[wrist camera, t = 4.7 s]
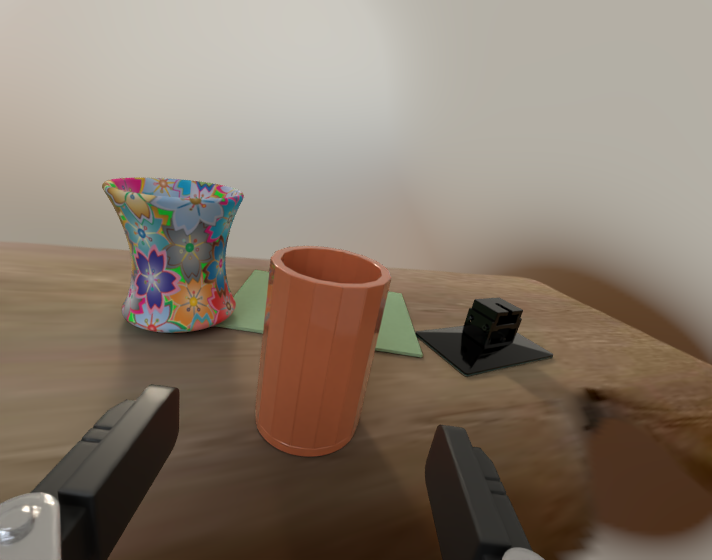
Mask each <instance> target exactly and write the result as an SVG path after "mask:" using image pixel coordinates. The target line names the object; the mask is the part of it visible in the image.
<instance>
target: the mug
mask: <svg viewBox="0 0 712 560" xmlns="http://www.w3.org/2000/svg"><path fill="white" fill-rule="evenodd" d="M102 188H103V190H104V192H105V193H106V195H107V196H108V198H109V200H110V201H111V203H112V205H113V206H114V209H115V210H116V212H117V214H118V216H119V219H120V221H121V223H122V226H123V229H124V231H125V234H126V237H127V241H128V245H129V249H130V255H131V264H132V275H131V284H130V289H129V292H128V295H127V298H126V300H125V302H124V304H123V306H122V314H123V316H124V318H125V319H126V320H127V321H128V322H129V323H131V324H132V325H134V326H136V327H139V328H141V329H145V330H149V331H154V332H163V333H182V332H191V331H197V330H201V329H205V328H208V327H211V326H214V325H216V324H219V323H221V322H222V321H224V320H226V319H227V318H228V317H229V316H230V315H231V314H232V313H233V312H234V310H235V306H236V302H235V299H234V297H233V296H232V294H231V292H230V289H229V286H228V282H227V278H226V269H225V255H226V246H227V240H228V236H229V232H230V228H231V225H232V222H233V220H234V217H235V215H236V212H237V210H238V208H239V206H240V204H241V202H242V200H243V197H244V195H243V193H242V192H241V191H239V190H237V189H234V188H231V187H227V186H223V185H218V184H212V183H206V182H198V181H190V180H180V179H165V178H120V179H112V180H108V181H105V182H104V183H103V185H102Z"/></svg>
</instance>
